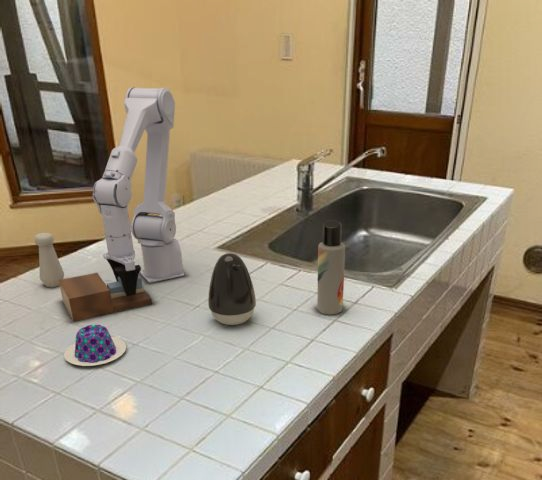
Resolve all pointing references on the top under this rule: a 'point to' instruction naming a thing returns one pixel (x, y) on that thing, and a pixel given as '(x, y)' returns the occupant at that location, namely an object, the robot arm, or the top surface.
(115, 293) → the blue stepped block
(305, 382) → the top surface
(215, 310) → the dark egg shaped container
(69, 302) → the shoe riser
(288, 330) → the top surface
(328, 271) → the lotion bottle
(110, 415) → the top surface
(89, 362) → the patterned hat
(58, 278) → the salt shaker
